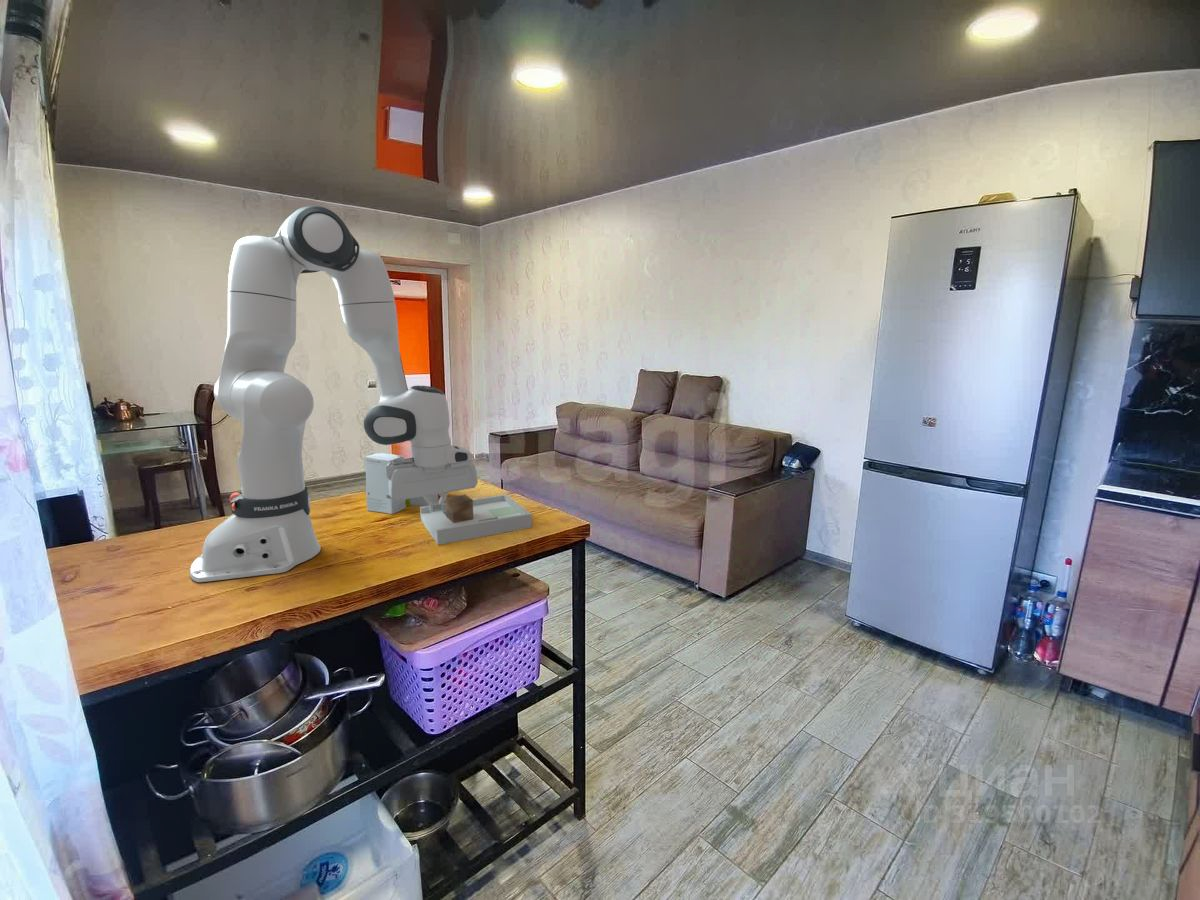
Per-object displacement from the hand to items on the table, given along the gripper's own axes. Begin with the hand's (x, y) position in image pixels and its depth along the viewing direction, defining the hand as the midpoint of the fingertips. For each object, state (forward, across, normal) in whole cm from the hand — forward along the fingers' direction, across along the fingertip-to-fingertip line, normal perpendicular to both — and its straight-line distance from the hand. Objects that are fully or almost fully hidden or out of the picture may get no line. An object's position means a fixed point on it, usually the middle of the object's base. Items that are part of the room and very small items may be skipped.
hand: (436, 510), depth 124 cm
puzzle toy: (+5, +2, +24) cm, 25 cm away
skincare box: (+5, -8, +20) cm, 22 cm away
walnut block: (+3, +5, 0) cm, 6 cm away
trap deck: (+5, +9, -1) cm, 10 cm away
